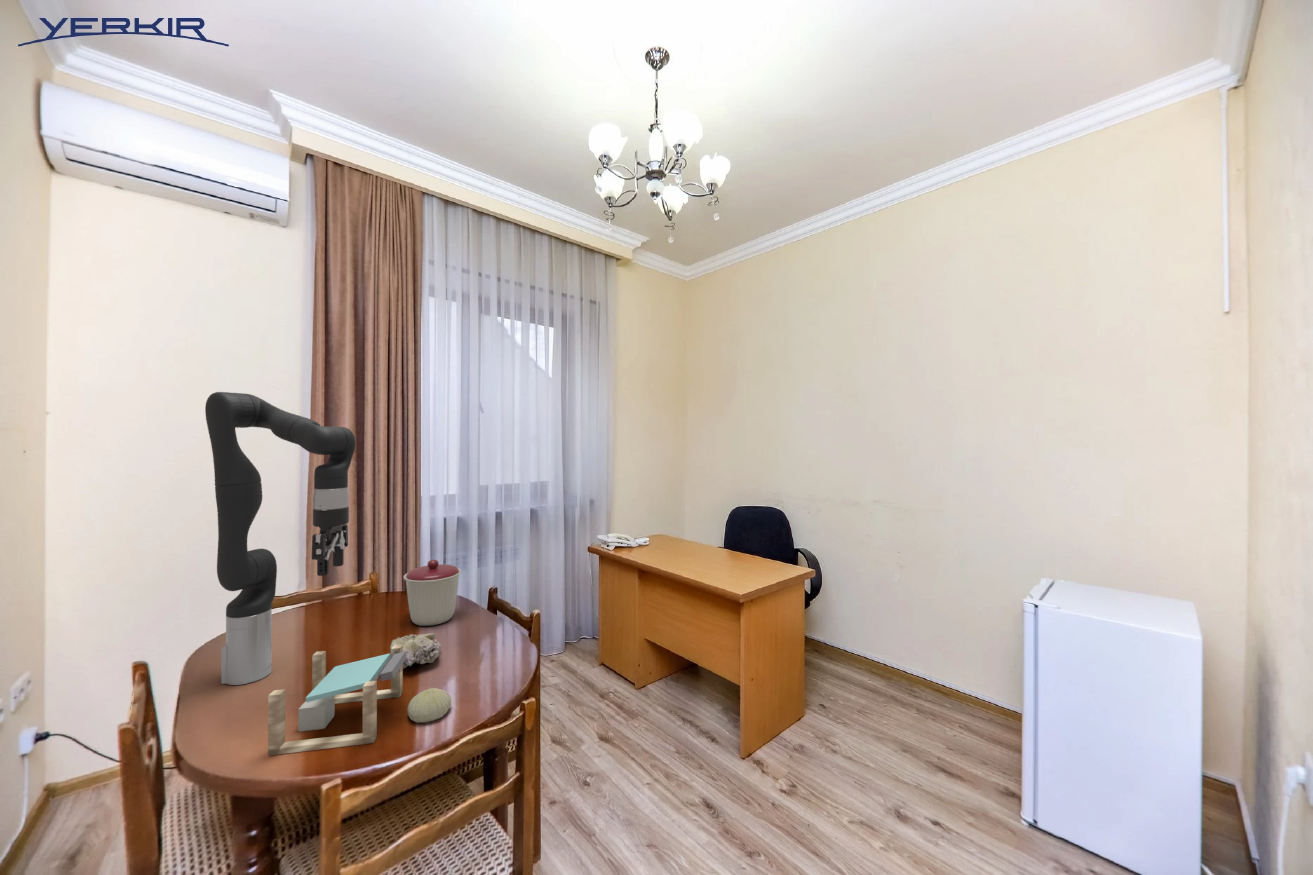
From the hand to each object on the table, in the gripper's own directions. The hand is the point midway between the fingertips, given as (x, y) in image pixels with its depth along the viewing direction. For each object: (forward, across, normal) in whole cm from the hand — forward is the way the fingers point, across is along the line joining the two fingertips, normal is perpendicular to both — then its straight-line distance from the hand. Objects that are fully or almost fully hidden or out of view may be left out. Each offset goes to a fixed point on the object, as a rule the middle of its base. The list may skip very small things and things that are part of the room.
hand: (330, 570), depth 120 cm
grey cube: (+28, +15, +6) cm, 32 cm away
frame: (+30, +15, +9) cm, 35 cm away
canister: (+30, -44, +14) cm, 55 cm away
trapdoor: (+21, +15, +12) cm, 28 cm away
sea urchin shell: (+30, +16, +27) cm, 44 cm away
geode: (+30, -12, +17) cm, 37 cm away
